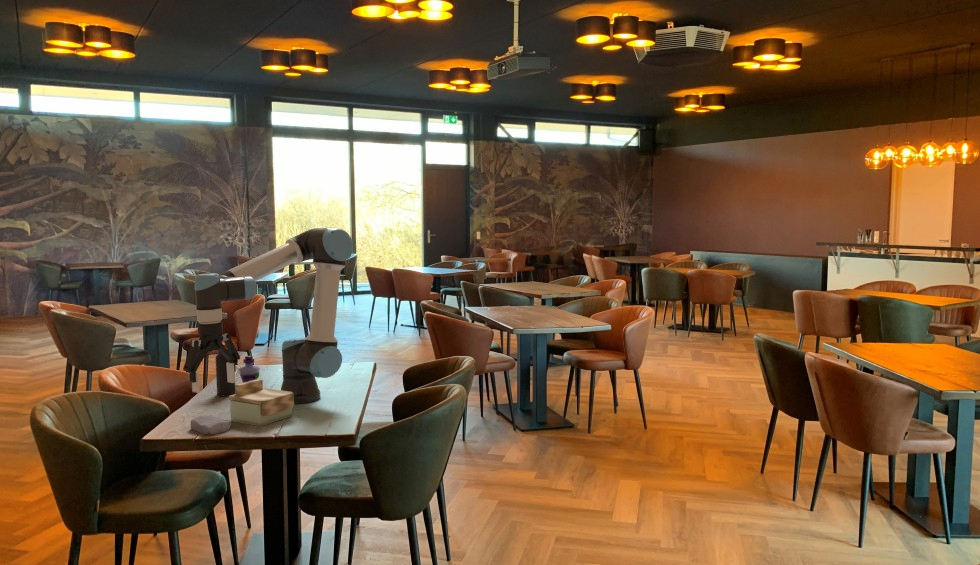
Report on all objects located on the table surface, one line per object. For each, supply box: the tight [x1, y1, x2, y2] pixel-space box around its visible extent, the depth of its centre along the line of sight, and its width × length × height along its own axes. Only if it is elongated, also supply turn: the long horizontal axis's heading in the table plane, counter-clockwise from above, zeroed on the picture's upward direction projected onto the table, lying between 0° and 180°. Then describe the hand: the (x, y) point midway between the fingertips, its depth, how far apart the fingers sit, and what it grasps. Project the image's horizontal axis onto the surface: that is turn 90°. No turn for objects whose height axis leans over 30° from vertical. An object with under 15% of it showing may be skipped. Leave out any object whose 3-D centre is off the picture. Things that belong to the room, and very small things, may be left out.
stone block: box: [189, 414, 232, 436], centre depth 231 cm, size 12×5×10 cm
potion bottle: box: [238, 355, 261, 383], centre depth 294 cm, size 9×9×12 cm
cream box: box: [229, 400, 293, 427], centre depth 243 cm, size 14×14×7 cm
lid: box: [228, 378, 295, 416], centre depth 242 cm, size 14×16×8 cm
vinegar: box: [215, 342, 236, 397], centre depth 277 cm, size 7×7×20 cm
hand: (214, 387), depth 230 cm, fingers open, 13 cm apart
